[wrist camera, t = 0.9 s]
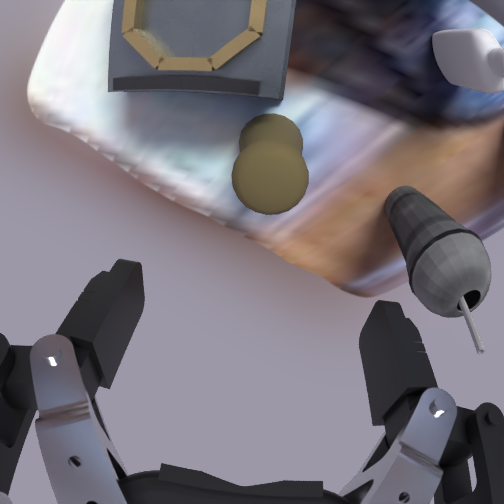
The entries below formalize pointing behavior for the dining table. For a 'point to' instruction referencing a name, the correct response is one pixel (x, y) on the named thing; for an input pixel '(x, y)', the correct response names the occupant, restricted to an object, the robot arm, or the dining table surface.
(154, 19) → the grey peg socket base
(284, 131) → the cork
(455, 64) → the eye dropper bottle
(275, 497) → the robot arm
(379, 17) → the dining table surface
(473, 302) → the beverage cup
